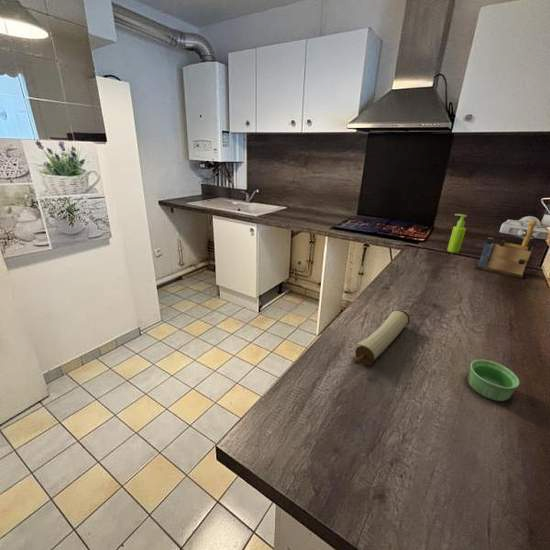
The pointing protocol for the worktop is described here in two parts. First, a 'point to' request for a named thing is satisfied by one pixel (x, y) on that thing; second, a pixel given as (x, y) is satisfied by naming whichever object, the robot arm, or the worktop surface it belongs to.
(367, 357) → the bamboo tube
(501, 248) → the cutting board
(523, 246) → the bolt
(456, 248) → the soap dispenser
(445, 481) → the worktop surface
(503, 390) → the ramekin
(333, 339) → the worktop surface
